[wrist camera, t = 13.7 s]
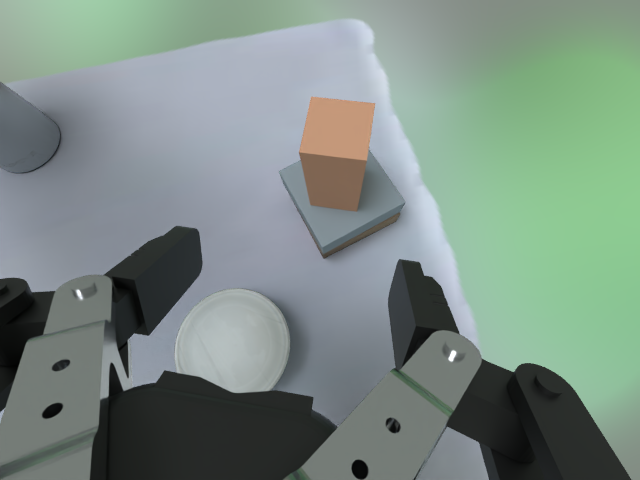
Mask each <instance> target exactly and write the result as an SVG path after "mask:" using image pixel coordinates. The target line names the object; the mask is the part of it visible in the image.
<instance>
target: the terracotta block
mask: <svg viewBox="0 0 640 480" xmlns="http://www.w3.org/2000/svg"><path fill="white" fill-rule="evenodd" d="M374 108H375V103H366V102H357V101H347V100H338V99H328V98H319V97H311V100H310V104H309V109H308V114H307V118H306V123H305V128H304V132H303V137H302V141H301V146H300V151H299V154H300V159H301V163H302V168H303V173H304V178H305V183H306V187H307V192H308V197H309V202H310V205H313V206H320V207H327V208H334V209H341V210H348V211H355V212H357V209H358V204H359V199H360V194H361V189H362V183H363V178H364V173H365V168H366V163H367V156H368V149H369V142H370V136H371V129H372V122H373V115H374Z"/></svg>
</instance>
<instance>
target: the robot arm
mask: <svg viewBox="0 0 640 480" xmlns="http://www.w3.org/2000/svg"><path fill="white" fill-rule="evenodd" d="M59 140H60V132H59V129H58V126H57V125H56V124H55V123H54V122H53V121H52V120H51V119H49V118H48V117H47V116H45V115H44V114H43V112H42V111H40V110H39V109H37V108H36V107H35V106H33V105H32V104H31V103H29V102H28V101H26V100H25V99H24V98H22V97H21V96H19V95H18V94H17V93H15V92H14V91H13V90H11V89H10V88H8V87H7V86H6V85H4V84H3V83H1V82H0V168H2V169H5V170H7V171H9V172H13V173H23V172H28V171H31V170H34V169H36V168H38V167H40V166H41V165H43V164H44V163H45V162H47V161H48V160H49V159H50V158H51V156H52V155H53V154H54V152H55V151H56V149H57V147H58V144H59ZM201 269H202V254H201V245H200V236H199V232H198V230H197V229H195V228H189V227H182V226H176V227H174V228H173V229H172V230H170V231H169V232H168V233H166V234H165V235H164V236H160V237H158V238H155V239H153V240H151V241H148V242H147V243H146V244H144V245H143V246H142V247H140V248H139V250H136V251H135V252H134V253H132V254H131V256H128V257H127V258H126V259H124V260H123V261H122V262H120V263H119V264H118V265H116V266H115V267H114V268H112V269H111V270H110V271H108V272H107V273H106V274H104V275H88V276H82V277H79V278H76V279H73V280H71V281H68V282H66V283H65V284H63V285H62V286H60V287H59V288H58V289H57V290H56V291H50V292H31V290H30V287H29V285H28V283H27V282H26V281H25V280H23V279H20V278H5V279H0V412H1V411H2V410H3V409H4V408H5V410H4V413H3V416H2V420H1V423H0V480H417V478H418V476H419V474H420V473H421V471H422V469H423V467H424V466H425V464H426V462H427V460H428V459H429V457H430V455H431V454H432V452H433V450H434V448H435V447H436V445H437V443H438V441H439V440H440V438H441V436H442V434H443V433H444V431H445V429H446V428H447V426H448V427H450V428H452V429H454V430H456V431H458V432H460V433H462V434H464V435H466V436H468V437H470V438H472V439H474V440H476V441H478V442H479V444H480V448H481V451H482V455H483V459H484V462H485V466H486V470H487V473H488V477H489V480H631V479H630V477H629V475H628V474H627V472H626V470H625V469H624V467H623V466H622V464H621V462H620V461H619V459H618V458H617V456H616V455H615V453H614V451H613V450H612V448H611V447H610V446H609V444H608V442H607V440H606V439H605V437H604V436H603V434H602V433H601V431H600V429H599V428H598V427H597V425H596V423H595V422H594V420H593V418H592V417H591V415H590V414H589V412H588V410H587V409H586V407H585V406H584V404H583V403H582V401H581V399H580V398H579V396H578V395H577V393H576V392H575V390H574V389H573V388H572V387H571V386H570V385H569V384H568V383H567V382H566V381H565V380H564V379H563V378H562V377H560V376H559V375H557V374H556V373H554V372H552V371H551V370H549V369H547V368H545V367H542V366H539V365H536V364H531V363H525V364H521V365H519V366H518V367H517V369H516V370H515V372H511V371H509V370H506V369H504V368H502V367H499V366H497V365H494V364H491V363H489V362H487V361H485V360H484V359H482V358H481V355H480V352H479V350H478V349H477V348H476V346H475V345H474V344H473V343H472V342H471V341H469V340H468V339H467V338H465V337H464V336H462V335H460V334H459V331H458V328H457V326H456V323H455V321H454V318H453V316H452V313H451V311H450V308H449V306H448V303H447V301H446V298H444V297H445V296H444V293H443V291H442V288H441V286H440V285H439V284H438V283H437V282H436V281H435V280H434V279H433V278H432V277H429V276H424V274H423V271H422V268H421V265H420V263H419V262H415V261H409V260H402V259H399V261H398V263H397V266H396V270H395V273H394V277H393V281H392V284H391V288H390V292H389V298H388V309H389V317H390V325H391V333H392V341H393V349H394V357H395V365H396V368H394V369H392V370H391V371H390V372H389V373H388V374H387V375H386V376H385V377H384V378H383V379H382V380H381V381H380V382H379V383H378V385H377V386H376V387H375V388H374V389H373V390H372V391H371V392H370V393H369V394H368V395H367V396H366V398H365V399H364V400H363V401H362V402H361V403H360V404H359V405H358V406H357V407H356V408H355V410H354V411H353V412H352V413H351V414H350V415H349V416H348V417H347V418H346V419H345V420H344V421H343V423H342V424H341V425H340V426H339V427H337V426H336V425H334V424H333V423H332V422H331V421H330V420H328V419H327V418H326V417H324V416H323V415H321V414H319V413H317V412H315V411H313V410H312V404H313V397H310V396H304V395H299V394H293V393H287V392H282V391H276V390H275V391H261V392H246V393H233V392H230V391H228V390H226V389H224V388H222V387H220V386H218V385H216V384H214V383H212V382H210V381H208V380H206V379H203V378H201V377H198V376H192V375H187V374H181V373H175V372H170V371H164V372H163V374H162V375H161V377H160V378H159V379H158V381H157V382H156V383H151V384H145V385H141V386H137V387H133V386H132V362H131V344H130V340H129V338H130V337H131V336H132V335H133V334H134V333H136V334H142V335H148V336H149V335H150V334H151V332H152V331H153V330H154V329H155V328H156V326H157V325H158V324H159V323H160V322H161V320H162V319H163V318H164V317H165V316H166V314H167V313H168V312H169V311H170V310H171V308H172V307H173V306H174V305H175V304H176V302H177V301H178V300H179V299H180V298H181V297H182V295H183V294H184V293H185V292H186V291H187V289H188V288H189V287H190V286H191V285H192V283H193V282H194V281H195V280H196V279H197V277H198V276H199V274H200V272H201Z"/></svg>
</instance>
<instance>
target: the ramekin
mask: <svg viewBox="0 0 640 480" xmlns="http://www.w3.org/2000/svg"><path fill="white" fill-rule="evenodd" d="M289 353H290V333H289V329H288V325H287V322H286V320H285V318H284V316H283V314H282V312H281V311H280V309H279V308H278V307H277V306H276V305H275V304H274V303H273V302H272V301H271V300H270V299H268V298H267V297H266V296H264V295H262V294H260V293H258V292H255V291H252V290H248V289H241V288H233V289H226V290H222V291H218V292H216V293H214V294H211V295H209V296H208V297H206V298H204V299H203V300H202V301H200V302H199V303H198V304H197V305H195V306H194V307H193V308H192V309H191V310H190V312H189V313H188V314H187V316H186V317H185V319H184V321H183V323H182V324H181V327H180V329H179V332H178V334H177V338H176V342H175V352H174V357H175V366H176V370H177V373H181V374H187V375H192V376H198V377H201V378H203V379H206V380H208V381H210V382H212V383H214V384H216V385H218V386H220V387H222V388H224V389H226V390H228V391H230V392H233V393H246V392H261V391H270V390H271V389H272V388H273V387H274V386H275V385H276V383H277V382H278V381H279V379H280V377H281V376H282V374H283V372H284V370H285V367H286V365H287V362H288V358H289Z"/></svg>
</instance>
